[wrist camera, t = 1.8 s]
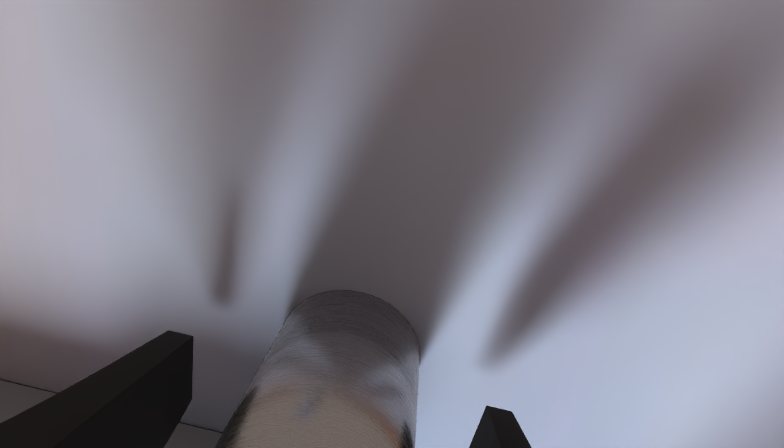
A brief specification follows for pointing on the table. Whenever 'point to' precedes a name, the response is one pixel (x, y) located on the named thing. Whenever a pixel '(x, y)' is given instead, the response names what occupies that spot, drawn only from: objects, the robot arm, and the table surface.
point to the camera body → (10, 399)
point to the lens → (333, 380)
